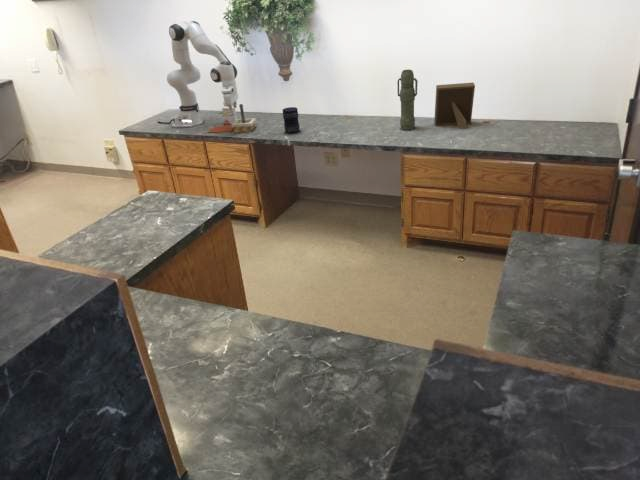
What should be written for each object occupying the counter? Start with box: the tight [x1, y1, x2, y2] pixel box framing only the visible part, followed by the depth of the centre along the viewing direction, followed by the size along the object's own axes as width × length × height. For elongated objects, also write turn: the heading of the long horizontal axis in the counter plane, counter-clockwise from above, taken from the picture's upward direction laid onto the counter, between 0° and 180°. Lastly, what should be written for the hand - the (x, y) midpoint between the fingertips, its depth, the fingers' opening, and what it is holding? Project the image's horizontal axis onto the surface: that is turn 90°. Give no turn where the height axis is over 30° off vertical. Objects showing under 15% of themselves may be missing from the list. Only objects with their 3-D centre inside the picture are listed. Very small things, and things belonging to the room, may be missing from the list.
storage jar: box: [282, 106, 301, 135], centre depth 328 cm, size 10×10×15 cm
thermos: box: [397, 69, 419, 131], centre depth 308 cm, size 9×12×35 cm
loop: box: [231, 117, 257, 127], centre depth 345 cm, size 14×14×2 cm
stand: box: [233, 103, 256, 134], centre depth 343 cm, size 12×12×18 cm
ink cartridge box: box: [221, 101, 238, 125], centre depth 362 cm, size 9×5×15 cm, turn 84°
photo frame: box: [433, 82, 476, 129], centre depth 307 cm, size 15×22×25 cm
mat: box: [208, 125, 234, 134], centre depth 353 cm, size 16×14×1 cm
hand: (233, 109), depth 335 cm, fingers open, 8 cm apart
